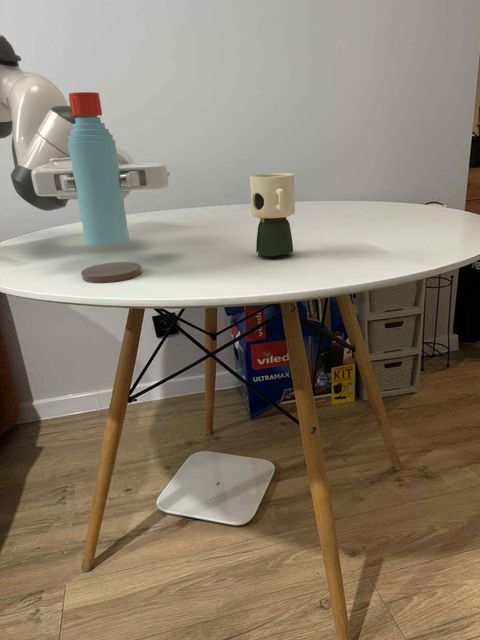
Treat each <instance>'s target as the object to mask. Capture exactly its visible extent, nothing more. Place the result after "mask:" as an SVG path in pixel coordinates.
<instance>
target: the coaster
mask: <svg viewBox="0 0 480 640" xmlns="http://www.w3.org/2000/svg"><path fill="white" fill-rule="evenodd" d="M142 272H143V269H142V265H141V264H140V263H137V262H133V261H114V262H106V263H99V264H95V265H91V266H88V267H86V268H83V269H82V270H81V272H80V274H81V279H82V280H83V281H84V282H87V283H94V284H104V283H105V284H106V283H117V282H122V281H126V280H131V279H134V278H137V277H138V276H141V274H143V273H142Z"/></svg>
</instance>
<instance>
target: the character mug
mask: <svg viewBox="0 0 480 640" xmlns="http://www.w3.org/2000/svg"><path fill="white" fill-rule="evenodd" d="M249 184H250V205H251V213H252V214H251V215H252V217H254V218H257V219H258V218H259V223H258V225H257V233H256V245H255V246H256V249H255V254H257V255H258V256H260V257H275V258H277V257H278V258H279V257H280V256H281V255H285V254H291V253H293V252H294V243H293V237H292V230H291V223H290V221H289V220H288V219H287V217H291V216H293V215H295V213H296V202H295V201H296V197H295V195H296V193H295V188H296V187H295V174H294V173H288V172H287V173H286V172H285V173H283V172H282V173H281V172H280V173H278V172H277V173H262V174H255V175H250V176H249Z"/></svg>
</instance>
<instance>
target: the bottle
mask: <svg viewBox="0 0 480 640" xmlns="http://www.w3.org/2000/svg"><path fill="white" fill-rule="evenodd" d="M75 121H76V124H73V129H74V130H71V136H68V138H69V142H68V147H69V153H70V159H71V164H72V170H73V175H74V181H75V186H76V192H77V197H78V199H77V202H78V203H77V204H78V208H79V214H80V219H81V224H82V231H83V236H84V241H85V244H86V245H90V246H108V245H115V244H120V243H121V244H122V243H125V242H127V241H129V240H130V234H129V229H128V228H129V226H128V221H127V215H126V208H125V199H123V192H122V187H121V185H120V182H121V181H120V179H119V175H120V172H119V165H118V158H117V151H116V147H117V145H116V140H115V139H114V135H113V134H112V133H110V131H109V128H106V125H105V123H104V122H102V120H101V117H100V116H97V115H82V116H78V118H75ZM105 128H106V129H105ZM109 133H110V134H109Z"/></svg>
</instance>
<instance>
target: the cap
mask: <svg viewBox="0 0 480 640" xmlns="http://www.w3.org/2000/svg"><path fill="white" fill-rule="evenodd" d="M68 100H69V106H70V107H71V113H72V116H82V115H97V117H100V116H103V111H102V103H101V98H100V93H99V92H95V91H94V92H93V91H79V92H77V91H76V92H69V93H68Z"/></svg>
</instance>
